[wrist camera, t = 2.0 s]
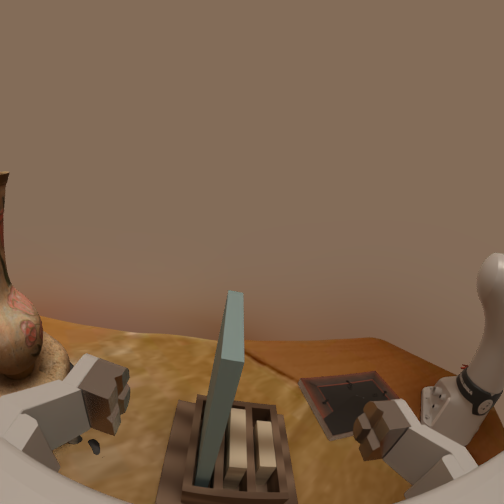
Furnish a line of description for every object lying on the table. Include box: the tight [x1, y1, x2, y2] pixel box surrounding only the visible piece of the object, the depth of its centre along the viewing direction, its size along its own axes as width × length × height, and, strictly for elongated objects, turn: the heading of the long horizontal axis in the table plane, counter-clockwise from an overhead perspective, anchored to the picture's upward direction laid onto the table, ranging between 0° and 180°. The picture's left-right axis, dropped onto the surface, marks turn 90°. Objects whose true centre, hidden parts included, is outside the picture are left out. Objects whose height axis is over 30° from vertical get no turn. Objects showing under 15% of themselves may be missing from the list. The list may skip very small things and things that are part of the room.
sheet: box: [194, 290, 244, 488], centre depth 26 cm, size 12×2×24 cm, turn 2°
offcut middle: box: [223, 408, 247, 489], centre depth 29 cm, size 10×2×7 cm, turn 2°
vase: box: [0, 172, 103, 458], centre depth 23 cm, size 24×22×35 cm
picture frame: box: [298, 371, 400, 441], centre depth 48 cm, size 16×2×22 cm
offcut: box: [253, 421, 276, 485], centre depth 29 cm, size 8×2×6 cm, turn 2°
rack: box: [155, 394, 298, 504], centre depth 29 cm, size 22×18×6 cm
